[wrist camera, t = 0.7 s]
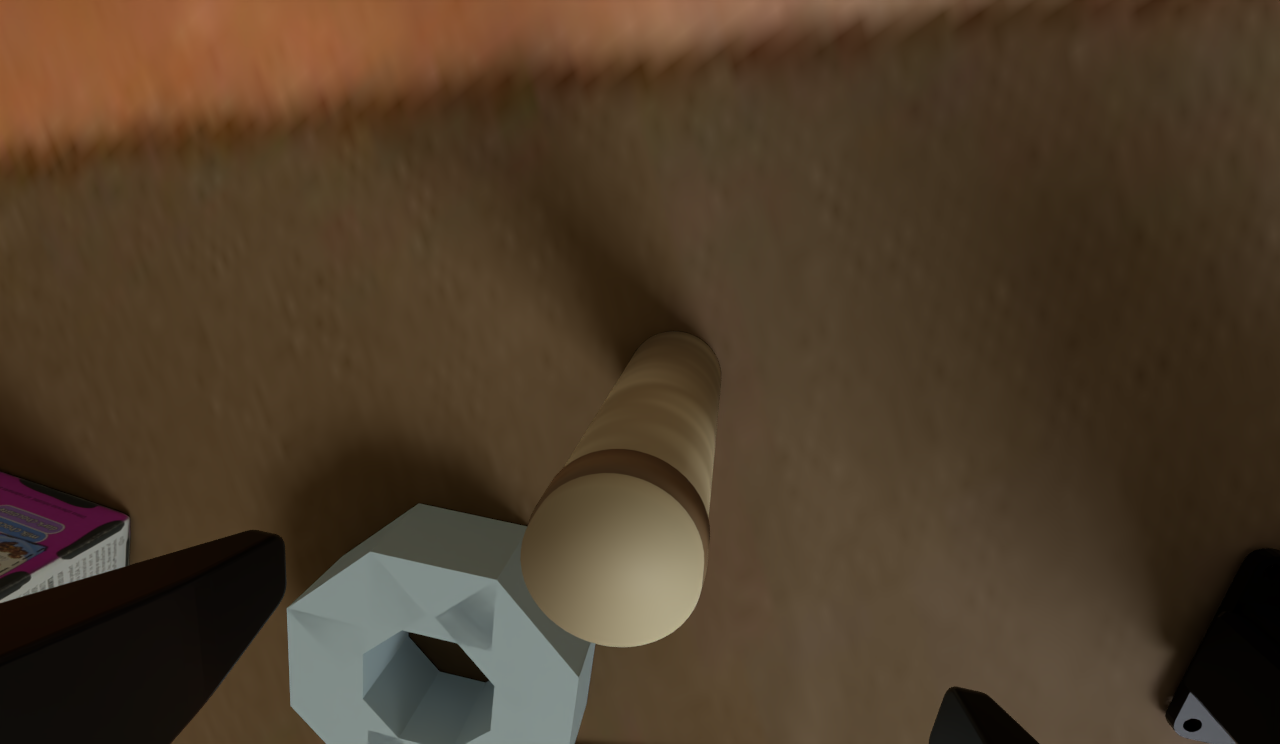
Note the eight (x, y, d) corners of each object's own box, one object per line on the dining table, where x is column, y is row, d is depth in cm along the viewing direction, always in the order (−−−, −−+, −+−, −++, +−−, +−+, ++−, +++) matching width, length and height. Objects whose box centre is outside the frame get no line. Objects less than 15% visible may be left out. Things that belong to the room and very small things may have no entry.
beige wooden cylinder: (731, 338, 18) (722, 504, 9) (713, 429, 19) (688, 668, 10) (634, 321, 19) (525, 464, 9) (621, 411, 19) (510, 626, 10)
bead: (610, 543, 21) (590, 600, 18) (578, 759, 24) (556, 838, 21) (342, 486, 22) (283, 532, 19) (343, 701, 25) (292, 768, 22)
